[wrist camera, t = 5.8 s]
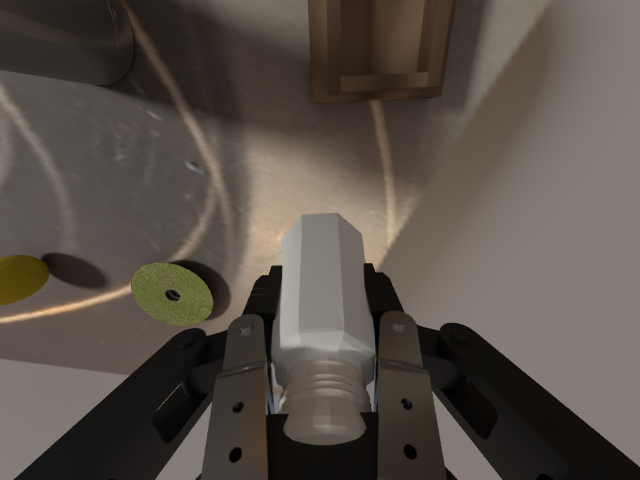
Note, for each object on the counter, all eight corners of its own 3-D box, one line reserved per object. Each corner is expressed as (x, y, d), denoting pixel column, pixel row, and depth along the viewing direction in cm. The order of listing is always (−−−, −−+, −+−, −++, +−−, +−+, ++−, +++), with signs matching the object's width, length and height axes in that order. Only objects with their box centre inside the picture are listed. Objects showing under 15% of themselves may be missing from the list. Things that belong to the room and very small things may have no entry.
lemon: (64, 284, 36) (-2, 325, 29) (22, 268, 35) (-58, 306, 27) (67, 256, 34) (-3, 293, 26) (23, 238, 32) (-63, 271, 25)
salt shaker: (343, 194, 14) (400, 369, 4) (376, 265, 16) (463, 492, 6) (264, 231, 15) (158, 442, 5) (304, 293, 17) (283, 525, 7)
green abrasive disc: (231, 283, 35) (226, 291, 33) (198, 327, 39) (192, 337, 37) (156, 240, 32) (146, 247, 30) (129, 293, 36) (119, 302, 35)
